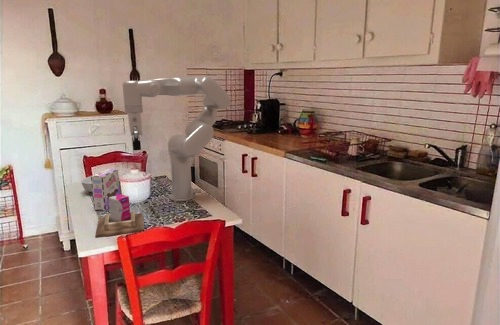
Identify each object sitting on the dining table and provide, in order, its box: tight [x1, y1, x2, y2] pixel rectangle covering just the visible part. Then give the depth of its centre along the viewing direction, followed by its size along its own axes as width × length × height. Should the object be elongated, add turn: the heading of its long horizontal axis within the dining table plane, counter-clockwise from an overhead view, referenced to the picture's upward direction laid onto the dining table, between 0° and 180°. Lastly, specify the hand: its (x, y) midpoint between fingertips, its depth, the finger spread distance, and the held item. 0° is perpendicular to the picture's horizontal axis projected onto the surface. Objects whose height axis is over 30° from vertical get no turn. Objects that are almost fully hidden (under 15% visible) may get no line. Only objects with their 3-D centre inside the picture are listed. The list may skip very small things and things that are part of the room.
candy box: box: [90, 168, 121, 212], centre depth 174 cm, size 14×6×16 cm, turn 168°
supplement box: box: [109, 193, 131, 223], centre depth 151 cm, size 6×6×12 cm
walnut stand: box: [95, 210, 145, 238], centre depth 152 cm, size 18×18×4 cm
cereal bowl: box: [81, 175, 93, 193], centre depth 196 cm, size 17×17×7 cm
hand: (136, 147), depth 166 cm, fingers open, 9 cm apart
